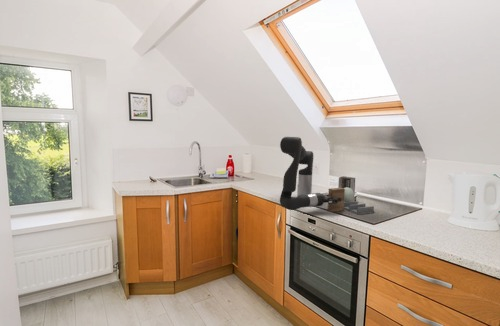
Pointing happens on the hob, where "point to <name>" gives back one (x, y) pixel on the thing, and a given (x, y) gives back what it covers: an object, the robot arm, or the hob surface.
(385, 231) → the hob surface
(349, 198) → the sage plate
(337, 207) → the walnut board
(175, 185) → the hob surface
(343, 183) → the coffee box
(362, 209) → the dish rack
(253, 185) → the hob surface
